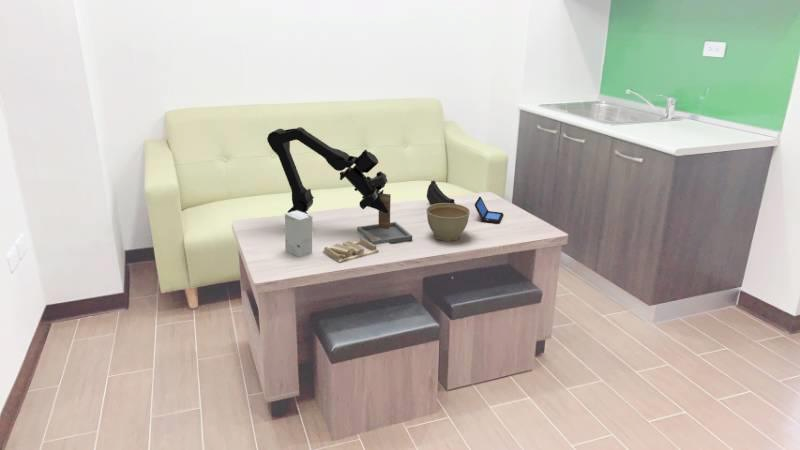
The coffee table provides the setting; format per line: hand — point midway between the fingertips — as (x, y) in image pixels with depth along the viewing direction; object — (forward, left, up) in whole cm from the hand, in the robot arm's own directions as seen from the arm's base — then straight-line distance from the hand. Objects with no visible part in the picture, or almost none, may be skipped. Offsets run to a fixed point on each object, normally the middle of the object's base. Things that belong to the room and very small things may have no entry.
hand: (388, 211), depth 218 cm
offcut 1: (-22, -12, -8) cm, 26 cm away
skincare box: (-35, -4, -10) cm, 37 cm away
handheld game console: (+47, +5, -11) cm, 49 cm away
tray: (-1, +1, -10) cm, 10 cm away
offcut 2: (-22, -12, -10) cm, 27 cm away
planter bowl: (+21, -8, -10) cm, 25 cm away
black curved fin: (+31, +16, -10) cm, 37 cm away
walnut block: (-1, +1, -7) cm, 7 cm away
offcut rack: (-18, -11, -10) cm, 24 cm away
